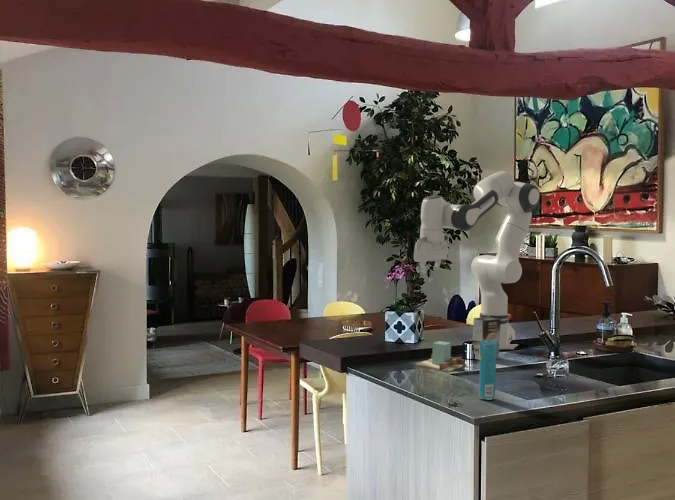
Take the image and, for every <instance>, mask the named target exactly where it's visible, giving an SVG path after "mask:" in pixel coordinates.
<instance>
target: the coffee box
mask: <svg viewBox="0 0 675 500" xmlns="http://www.w3.org/2000/svg"><path fill="white" fill-rule="evenodd" d="M500 324H501V319H498V318H492V317H483V318H479V317H474V318H473V327H472V341H473V342H472V345H473V347H474V354H475V358H474V359H475V360H479V361H480V341H482V340H491V339H497V354H496V360H499V357H500V349H499V342H500ZM472 345H471V346H472Z"/></svg>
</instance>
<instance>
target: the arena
mask: <svg viewBox="0 0 675 500" xmlns="http://www.w3.org/2000/svg"><path fill="white" fill-rule="evenodd" d="M432 354H433V353H432ZM432 354H431V355H430V358H429V359H427V360H423V361H421V362H418V363H416V364H415V366H417V367H421V368H427V369H432V370H436V371H440V372H447V373H449V372H452V371H455V370H457V369H460V368H463V367H465V366H467V363H466V359H465V358H464V359H462V358H461V357H453V356H451V357H450V360H449V361H446V362H444V363H441V364H440V365H436V364H432Z"/></svg>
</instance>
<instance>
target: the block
mask: <svg viewBox="0 0 675 500" xmlns="http://www.w3.org/2000/svg"><path fill="white" fill-rule="evenodd" d="M451 350H452V343H451V342H446V341H441V340H439V341H435V342H433V343H432V364H436V365H440V364H441V363H444V362H446V361H449V360H450V357H452V356H451V353H452V352H451Z"/></svg>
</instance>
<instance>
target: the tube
mask: <svg viewBox="0 0 675 500" xmlns="http://www.w3.org/2000/svg"><path fill="white" fill-rule="evenodd" d="M496 354H497V339H491V340H482V341H480V360H479V383H478V386H479V387H478V388H479V389H478V397H479V396H480V397H483V398H494V397H495V396H496V395H495V394H496V393H495V392H496V376H497V375H496V371H497V359H496ZM495 398H496V397H495Z"/></svg>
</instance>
